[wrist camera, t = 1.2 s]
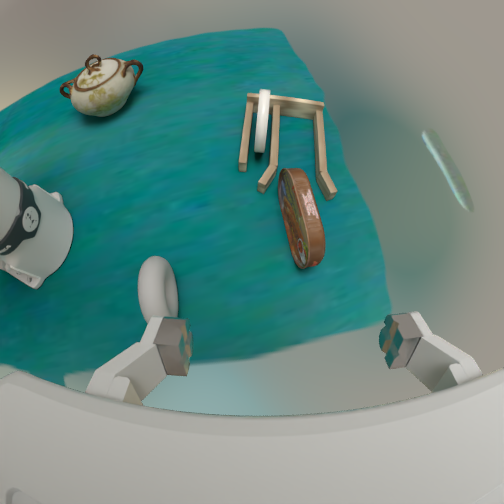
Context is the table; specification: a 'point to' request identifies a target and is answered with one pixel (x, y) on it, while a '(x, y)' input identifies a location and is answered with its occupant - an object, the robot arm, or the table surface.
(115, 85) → the sugar bowl
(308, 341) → the table surface
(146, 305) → the donut
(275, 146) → the rack
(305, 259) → the tin
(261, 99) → the racked plate
